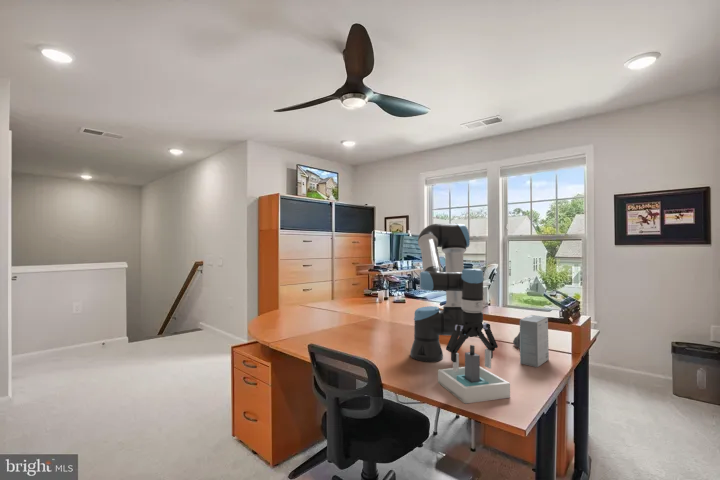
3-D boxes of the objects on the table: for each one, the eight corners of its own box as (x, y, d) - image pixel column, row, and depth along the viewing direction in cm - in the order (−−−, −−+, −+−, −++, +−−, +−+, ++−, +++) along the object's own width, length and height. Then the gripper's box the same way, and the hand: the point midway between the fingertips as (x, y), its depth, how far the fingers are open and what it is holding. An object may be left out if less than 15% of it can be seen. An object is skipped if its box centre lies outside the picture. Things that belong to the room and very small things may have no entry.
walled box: (437, 382, 129) (437, 369, 129) (478, 378, 134) (478, 365, 134) (464, 403, 112) (464, 388, 112) (510, 397, 116) (510, 383, 117)
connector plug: (464, 385, 124) (464, 344, 125) (472, 384, 125) (472, 343, 126) (471, 389, 120) (471, 347, 120) (479, 388, 121) (479, 347, 121)
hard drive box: (531, 356, 162) (531, 314, 163) (549, 359, 157) (548, 317, 157) (519, 363, 151) (519, 319, 152) (537, 368, 146) (537, 321, 146)
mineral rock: (513, 344, 183) (513, 325, 183) (535, 346, 178) (535, 327, 178) (512, 350, 171) (512, 330, 171) (536, 353, 166) (535, 333, 166)
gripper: (447, 314, 116) (447, 376, 116) (507, 311, 123) (507, 369, 123) (436, 310, 124) (436, 368, 123) (494, 307, 130) (494, 362, 130)
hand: (472, 369), depth 123 cm, fingers open, 13 cm apart
